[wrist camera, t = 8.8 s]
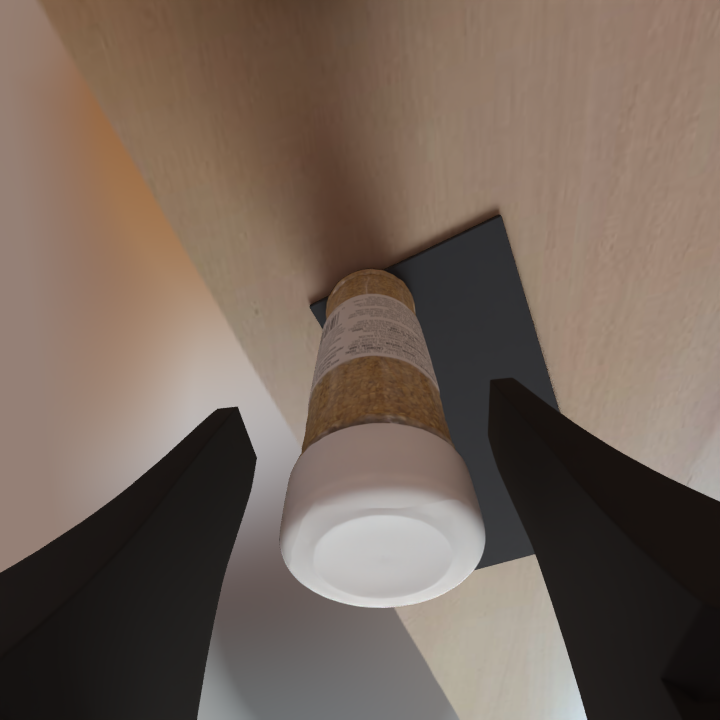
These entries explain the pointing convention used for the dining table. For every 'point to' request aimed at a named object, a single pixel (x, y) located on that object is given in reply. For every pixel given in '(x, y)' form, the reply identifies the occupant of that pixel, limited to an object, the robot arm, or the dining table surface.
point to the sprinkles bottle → (378, 461)
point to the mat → (476, 357)
